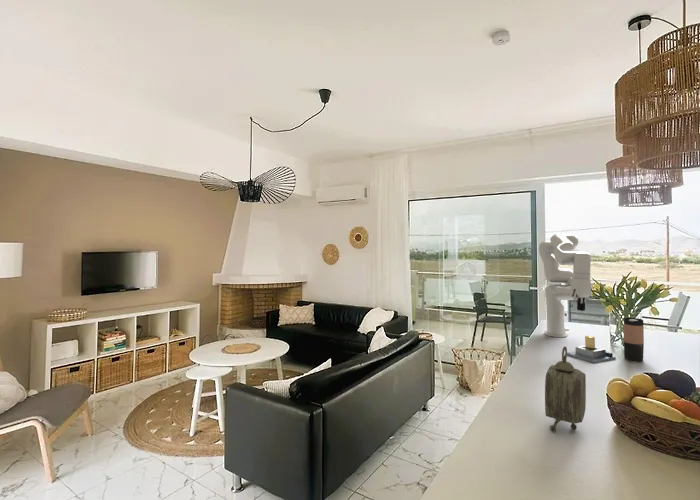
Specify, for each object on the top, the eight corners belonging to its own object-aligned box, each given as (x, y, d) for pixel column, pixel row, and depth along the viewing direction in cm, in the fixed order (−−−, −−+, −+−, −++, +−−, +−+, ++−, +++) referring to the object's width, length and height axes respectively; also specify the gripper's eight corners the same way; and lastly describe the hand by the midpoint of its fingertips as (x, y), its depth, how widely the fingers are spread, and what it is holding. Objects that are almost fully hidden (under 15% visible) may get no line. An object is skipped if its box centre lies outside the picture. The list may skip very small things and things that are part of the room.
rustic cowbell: (553, 414, 117) (553, 340, 117) (586, 422, 111) (585, 344, 111) (545, 432, 106) (544, 350, 105) (580, 442, 100) (580, 355, 100)
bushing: (589, 353, 178) (588, 335, 178) (597, 355, 175) (596, 337, 175) (583, 354, 177) (583, 336, 177) (591, 356, 173) (590, 338, 173)
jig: (587, 351, 185) (587, 342, 185) (615, 359, 172) (615, 350, 172) (566, 355, 179) (566, 346, 179) (593, 363, 166) (593, 354, 166)
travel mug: (636, 357, 174) (636, 317, 174) (647, 362, 167) (647, 320, 167) (620, 357, 175) (619, 317, 175) (630, 362, 168) (630, 320, 167)
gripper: (584, 274, 190) (583, 307, 191) (565, 276, 185) (564, 310, 186) (598, 275, 183) (597, 310, 184) (578, 277, 178) (578, 313, 179)
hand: (581, 310), depth 185 cm, fingers closed
